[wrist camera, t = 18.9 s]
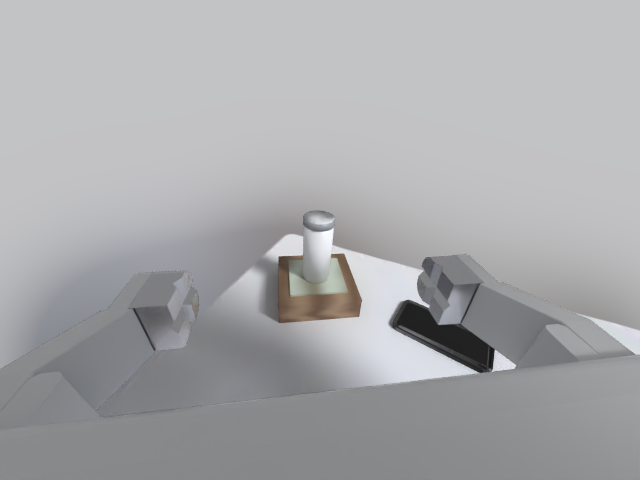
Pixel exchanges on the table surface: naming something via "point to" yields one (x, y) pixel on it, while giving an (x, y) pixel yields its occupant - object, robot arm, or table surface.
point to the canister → (317, 245)
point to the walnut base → (316, 292)
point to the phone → (444, 337)
